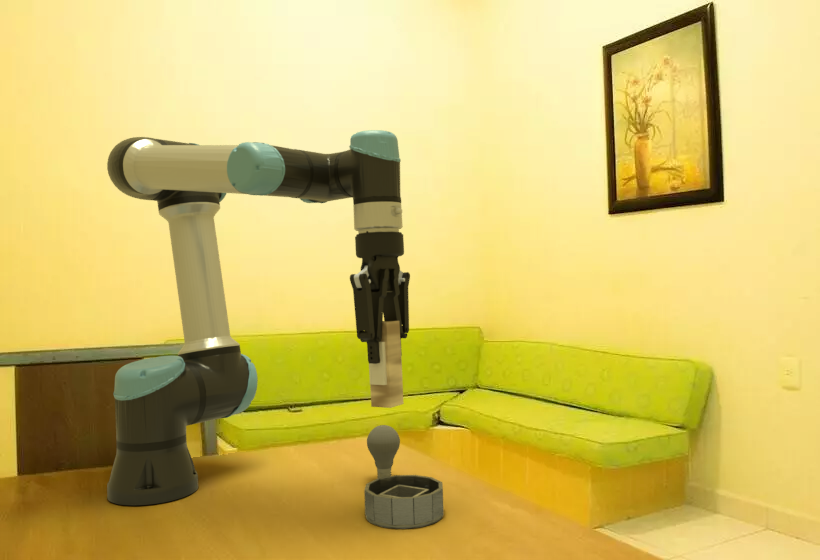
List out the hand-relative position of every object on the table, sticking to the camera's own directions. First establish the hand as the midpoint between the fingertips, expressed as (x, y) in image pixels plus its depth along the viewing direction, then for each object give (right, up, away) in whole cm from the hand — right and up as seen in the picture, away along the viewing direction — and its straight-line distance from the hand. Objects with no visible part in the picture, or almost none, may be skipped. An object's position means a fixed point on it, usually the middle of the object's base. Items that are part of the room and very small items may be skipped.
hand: (386, 382), depth 112 cm
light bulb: (-1, -21, +18) cm, 28 cm away
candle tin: (+3, -21, 0) cm, 21 cm away
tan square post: (0, -4, 0) cm, 4 cm away
